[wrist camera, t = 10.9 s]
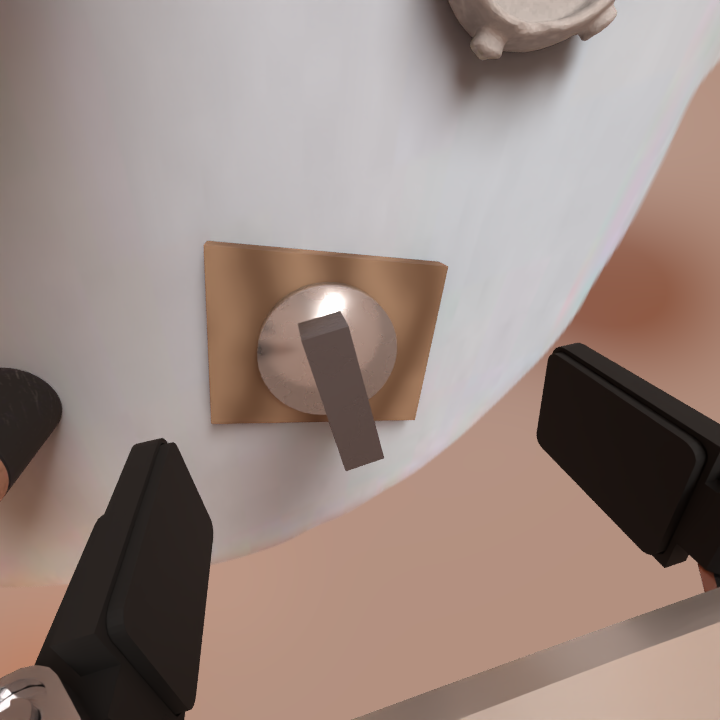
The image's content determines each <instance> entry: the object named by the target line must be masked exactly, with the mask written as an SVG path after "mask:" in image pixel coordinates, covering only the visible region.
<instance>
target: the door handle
mask: <svg viewBox="0 0 720 720" xmlns="http://www.w3.org/2000/svg"><path fill="white" fill-rule="evenodd" d="M396 354H397V339H396V334H395V330H394V327H393V324H392V322H391V320H390V318H389V317H388V315H387V314H386V312H385V311H384V310H383V309H382V307H381V306H380V305H379V304H378V303H377V302H376V300H374V299H373V298H372V297H371V296H370V295H369V294H367V293H365V292H364V291H362V290H360V289H358V288H356V287H354V286H351V285H348V284H344V283H338V282H320V283H314V284H309V285H306V286H303V287H301V288H298V289H296V290H294V291H292V292H290V293H289V294H287V295H286V296H285V297H283V298H282V299H281V300H280V301H279V302H278V303H276V304H275V306H274V307H273V308H272V309H271V310H270V312H269V313H268V315H267V316H266V318H265V320H264V322H263V324H262V327H261V329H260V333H259V337H258V347H257V361H258V366H259V371H260V374H261V377H262V379H263V381H264V383H265V385H266V386H267V387H268V389H269V390H270V391H271V393H272V394H273V395H274V396H275V397H276V398H277V399H279V400H280V401H281V402H282V403H284V404H286V405H287V406H289V407H291V408H293V409H296V410H298V411H301V412H305V413H310V414H318V415H327V418H328V421H329V424H330V427H331V429H332V432H333V435H334V438H335V441H336V444H337V447H338V450H339V453H340V456H341V459H342V462H343V465H344V468H345V470H346V471H348V470H351V469H354V468H357V467H360V466H363V465H366V464H369V463H371V462H374V461H377V460H380V459H383V458H384V456H383V452H382V448H381V444H380V441H379V437H378V433H377V430H376V426H375V422H374V418H373V415H372V411H371V407H370V404H369V399H370V398H371V397H373V396H374V395H375V394H376V393H377V392H378V391H379V390H380V389H381V388H382V386H383V385H384V384H385V382H386V381H387V379H388V378H389V376H390V374H391V372H392V369H393V367H394V364H395V360H396Z"/></svg>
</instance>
